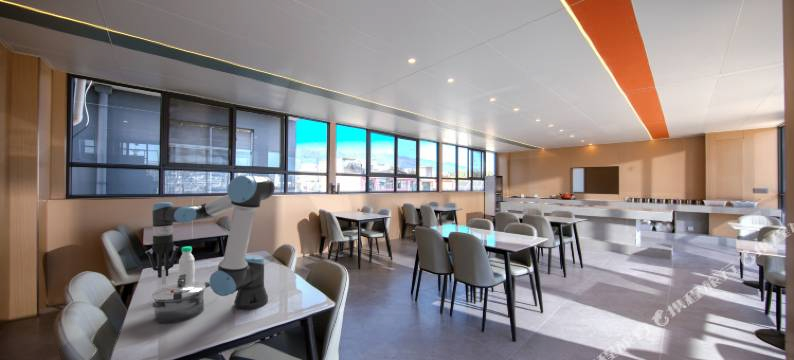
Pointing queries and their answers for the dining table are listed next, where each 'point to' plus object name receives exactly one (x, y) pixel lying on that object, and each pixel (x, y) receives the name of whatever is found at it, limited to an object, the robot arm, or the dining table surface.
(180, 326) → the dining table surface
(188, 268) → the water bottle
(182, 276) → the lid
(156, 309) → the pot
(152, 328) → the dining table surface
